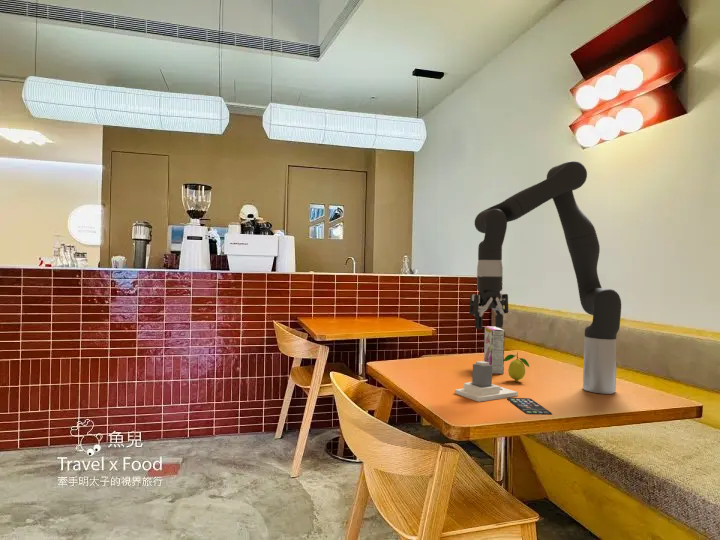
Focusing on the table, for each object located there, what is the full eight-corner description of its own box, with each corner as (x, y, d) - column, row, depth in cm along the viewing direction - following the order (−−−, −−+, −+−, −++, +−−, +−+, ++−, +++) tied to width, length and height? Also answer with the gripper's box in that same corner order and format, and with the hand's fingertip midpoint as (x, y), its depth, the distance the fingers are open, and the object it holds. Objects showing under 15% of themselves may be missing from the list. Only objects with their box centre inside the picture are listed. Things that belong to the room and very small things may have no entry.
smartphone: (526, 413, 124) (505, 397, 139) (525, 415, 124) (505, 399, 139) (553, 413, 124) (530, 398, 139) (553, 416, 124) (530, 400, 139)
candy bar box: (482, 367, 185) (484, 325, 185) (495, 368, 185) (497, 326, 185) (490, 373, 173) (491, 329, 174) (504, 374, 173) (505, 329, 173)
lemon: (502, 380, 163) (503, 351, 163) (511, 378, 167) (512, 350, 167) (520, 384, 158) (521, 354, 158) (529, 382, 162) (530, 353, 162)
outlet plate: (492, 388, 151) (493, 378, 151) (517, 396, 143) (517, 385, 143) (454, 393, 143) (455, 382, 143) (478, 401, 134) (479, 390, 134)
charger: (481, 389, 145) (482, 360, 145) (491, 392, 141) (492, 362, 141) (471, 390, 142) (472, 361, 143) (481, 393, 139) (482, 363, 139)
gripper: (496, 275, 151) (496, 325, 151) (463, 274, 144) (463, 328, 144) (515, 275, 145) (514, 328, 145) (482, 275, 137) (481, 331, 137)
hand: (489, 328), depth 144 cm, fingers open, 8 cm apart
